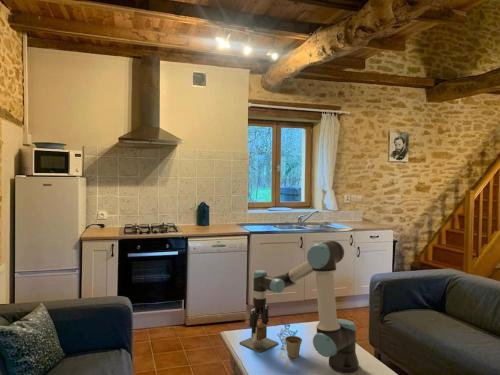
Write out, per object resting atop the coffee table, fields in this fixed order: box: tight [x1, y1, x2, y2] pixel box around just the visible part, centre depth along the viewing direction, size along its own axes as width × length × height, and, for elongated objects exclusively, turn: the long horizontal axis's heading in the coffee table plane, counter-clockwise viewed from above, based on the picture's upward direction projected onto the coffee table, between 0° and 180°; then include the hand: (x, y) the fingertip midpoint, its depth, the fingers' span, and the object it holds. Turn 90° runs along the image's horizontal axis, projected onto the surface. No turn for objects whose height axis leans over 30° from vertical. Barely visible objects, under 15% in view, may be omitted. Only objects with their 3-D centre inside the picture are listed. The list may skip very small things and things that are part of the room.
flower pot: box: [284, 335, 303, 358], centre depth 200 cm, size 9×9×9 cm
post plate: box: [239, 337, 280, 354], centre depth 213 cm, size 16×16×6 cm
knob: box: [250, 321, 268, 340], centre depth 213 cm, size 6×6×8 cm
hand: (259, 336), depth 213 cm, fingers closed on knob, 6 cm apart
